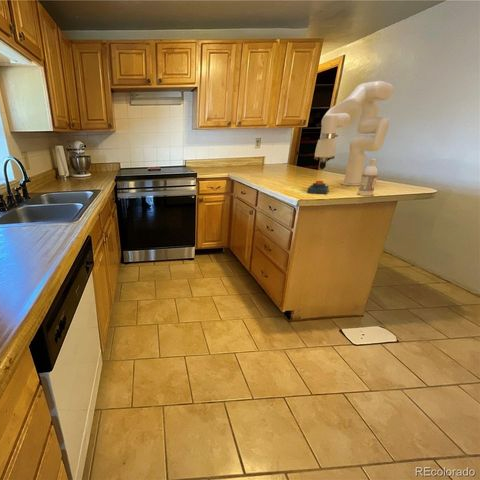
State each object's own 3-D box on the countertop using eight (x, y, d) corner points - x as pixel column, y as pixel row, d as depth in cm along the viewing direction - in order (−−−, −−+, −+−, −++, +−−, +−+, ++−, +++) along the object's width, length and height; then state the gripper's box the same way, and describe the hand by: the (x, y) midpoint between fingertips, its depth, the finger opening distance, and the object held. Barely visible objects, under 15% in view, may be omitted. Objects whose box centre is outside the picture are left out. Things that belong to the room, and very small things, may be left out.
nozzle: (315, 183, 168) (316, 180, 167) (323, 184, 166) (323, 180, 165) (315, 184, 165) (315, 181, 164) (322, 185, 163) (323, 181, 162)
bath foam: (369, 196, 150) (378, 159, 143) (355, 194, 156) (363, 159, 148) (374, 194, 154) (383, 158, 146) (360, 192, 159) (369, 158, 152)
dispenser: (310, 189, 175) (311, 181, 173) (328, 190, 169) (329, 182, 167) (307, 193, 165) (308, 185, 163) (326, 194, 159) (327, 186, 158)
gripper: (342, 136, 154) (336, 168, 161) (313, 137, 162) (309, 168, 169) (342, 136, 148) (336, 170, 155) (312, 137, 157) (307, 169, 163)
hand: (322, 168), depth 162 cm, fingers closed
